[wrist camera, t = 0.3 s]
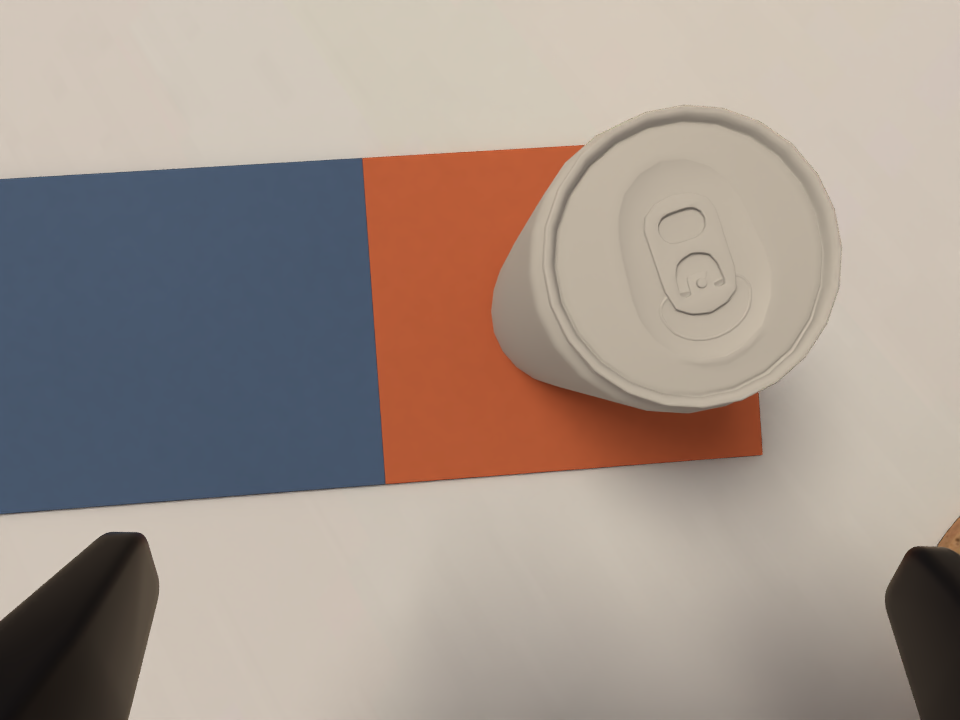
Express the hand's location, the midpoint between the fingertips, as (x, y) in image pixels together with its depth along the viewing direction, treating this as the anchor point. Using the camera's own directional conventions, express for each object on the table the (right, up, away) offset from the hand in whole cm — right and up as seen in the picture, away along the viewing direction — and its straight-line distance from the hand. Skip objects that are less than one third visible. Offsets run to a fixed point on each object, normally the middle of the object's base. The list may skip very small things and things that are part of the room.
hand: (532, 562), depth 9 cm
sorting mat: (-4, +4, +14) cm, 15 cm away
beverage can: (+2, +4, +14) cm, 15 cm away
